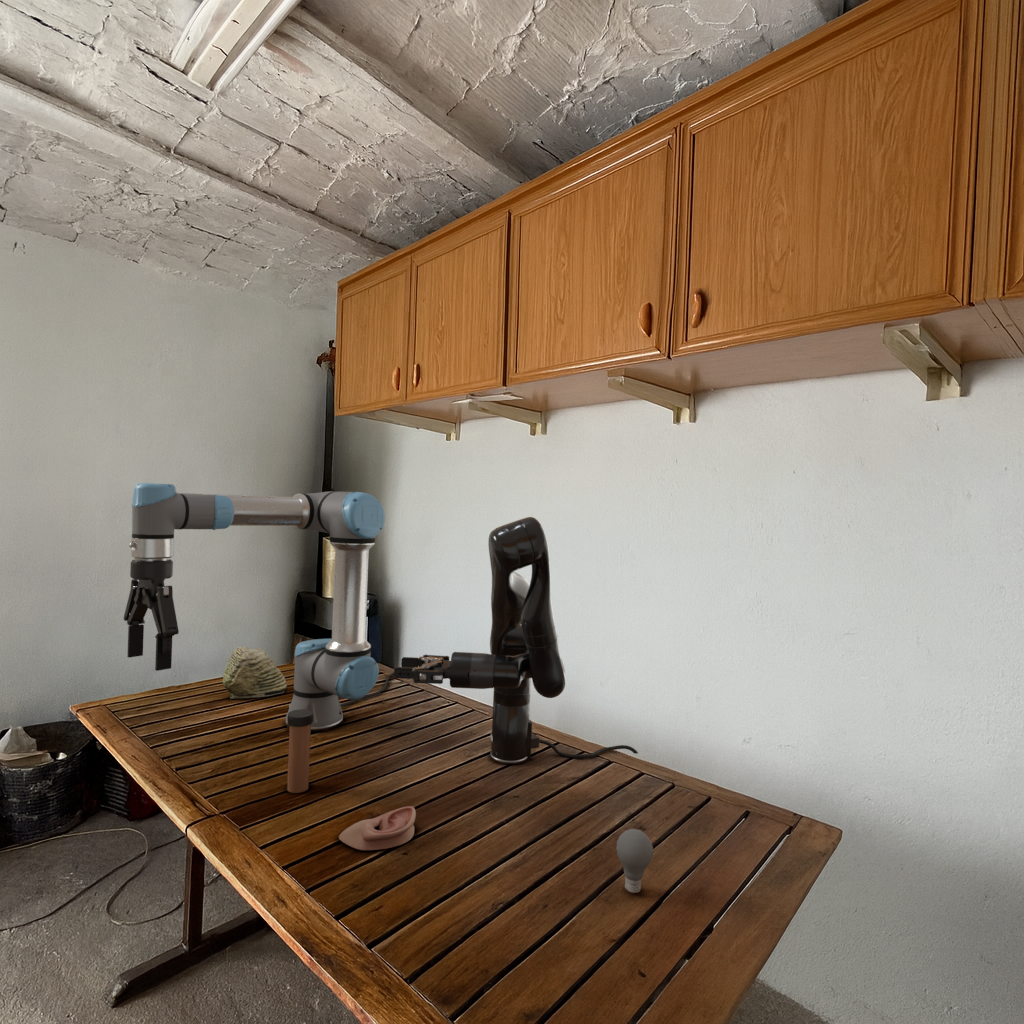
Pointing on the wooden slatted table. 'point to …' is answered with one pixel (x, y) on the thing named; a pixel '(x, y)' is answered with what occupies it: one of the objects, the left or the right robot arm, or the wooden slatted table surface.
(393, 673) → the left robot arm
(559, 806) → the wooden slatted table surface
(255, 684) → the fossil
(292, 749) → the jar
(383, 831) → the anatomical model
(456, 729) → the wooden slatted table surface
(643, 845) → the light bulb
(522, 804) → the wooden slatted table surface
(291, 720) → the lid
